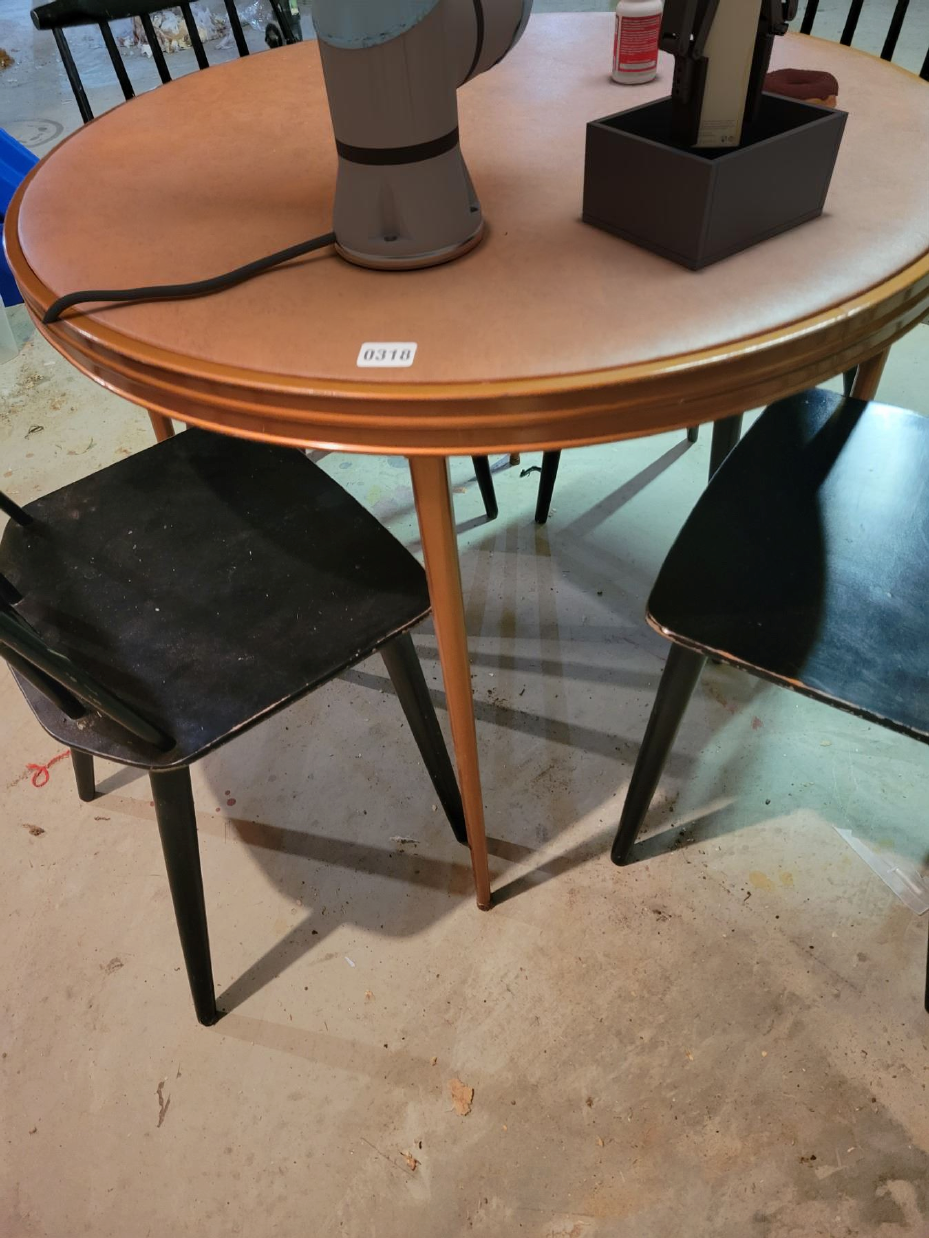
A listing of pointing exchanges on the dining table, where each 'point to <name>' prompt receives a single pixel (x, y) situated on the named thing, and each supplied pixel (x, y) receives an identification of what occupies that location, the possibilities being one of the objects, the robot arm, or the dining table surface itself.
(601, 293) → the dining table surface
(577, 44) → the dining table surface
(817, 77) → the donut
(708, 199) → the storage bin
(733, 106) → the cosmetic box
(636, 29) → the pill bottle
